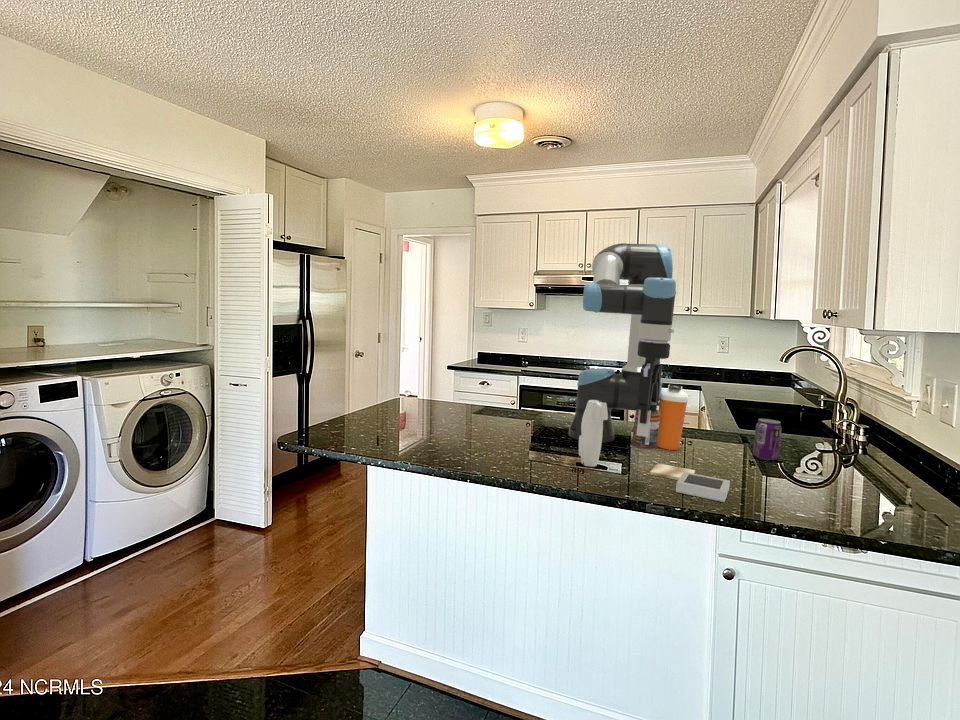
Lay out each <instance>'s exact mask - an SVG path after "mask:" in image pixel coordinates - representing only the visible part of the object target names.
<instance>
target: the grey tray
mask: <svg viewBox="0 0 960 720" xmlns="http://www.w3.org/2000/svg"><path fill="white" fill-rule="evenodd" d="M730 482H731V481H730V480H728V479H723V478H719V477H713V476H708V475H702V474H697V473H695V474H693V473H688V472H684V473H683V474H682V476H681V477H680V478H679V480H676V486H675V493H679V494H684V495H689V496H693V497H698V498H702V499H706V500H710V501H711V500H712V501H717V502H720V503H725V501H726V499H727V496H728V494H729V491H730Z"/></svg>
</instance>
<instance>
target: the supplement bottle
mask: <svg viewBox="0 0 960 720" xmlns="http://www.w3.org/2000/svg"><path fill="white" fill-rule="evenodd" d="M656 408H658V406H657V403H655V402H651V405H650V410H651V415H650V425H649V435H648V437H644V436H638V435H637V425H638V414H639V409H638V410H637V411H635V414H634V423H633V424H634V425H633V433H632V445H633V446H634V447H636V448H639V449H642V450H643V449H644V450H653V449H656V448H657V447H658V446H657V439H658V430H659V421H660V420H659V419H660V414H659V411H658V409H656Z"/></svg>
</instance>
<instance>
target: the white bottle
mask: <svg viewBox="0 0 960 720" xmlns="http://www.w3.org/2000/svg"><path fill="white" fill-rule="evenodd" d="M604 420H608V411H607V404H606V403H602V402H601V401H600V402H599V401H598V400H589V401H588V403H587V406H586V409H585V411H584V415H583V418H582V424H581V434H582V435H580V436H579V440H578V456H579V457H580V461H581V464H582V465H583V466H585V467H591V468H595V467H597V466H598V462H599V460H600V455H601V450H602V435H603V421H604Z"/></svg>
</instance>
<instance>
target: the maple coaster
mask: <svg viewBox="0 0 960 720" xmlns="http://www.w3.org/2000/svg"><path fill="white" fill-rule="evenodd" d="M684 472H688V473H693V474H696V470H695V469H691V468H689V469H688V468H684V467H680V466H674V465H668V464H663V463H657V464H656V465H655V466H653V468H652V469H651V470H650V472H649V475H651V476H656V477H661V478H665V479H670V480H676V481H678V480H679V478H680V477H681V476H682V474H683V473H684Z"/></svg>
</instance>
